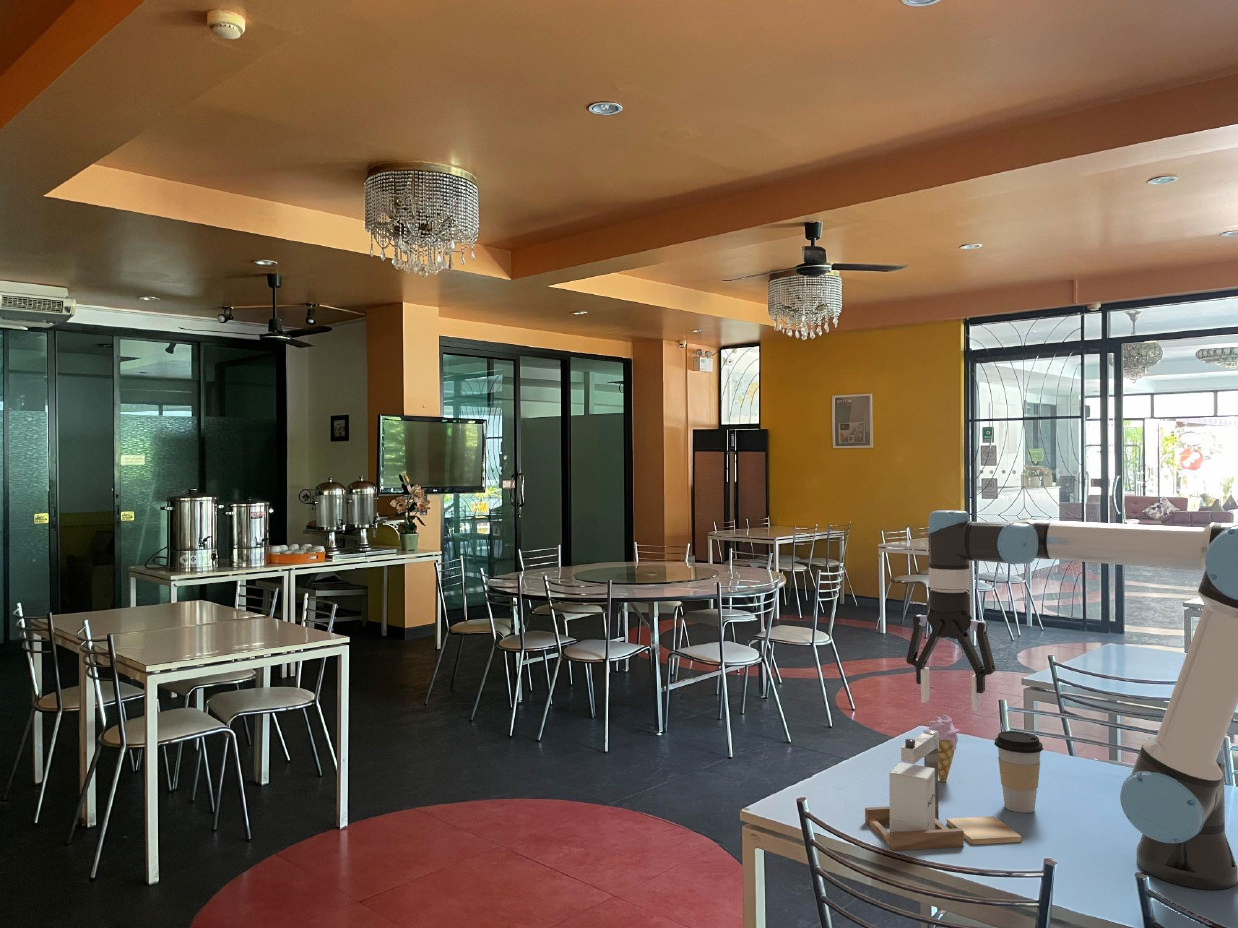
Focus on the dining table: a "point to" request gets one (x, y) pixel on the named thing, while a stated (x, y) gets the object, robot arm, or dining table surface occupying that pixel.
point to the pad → (984, 830)
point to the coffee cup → (1019, 769)
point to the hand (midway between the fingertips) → (950, 705)
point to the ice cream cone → (945, 744)
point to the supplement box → (912, 798)
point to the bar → (919, 746)
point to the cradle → (916, 838)
